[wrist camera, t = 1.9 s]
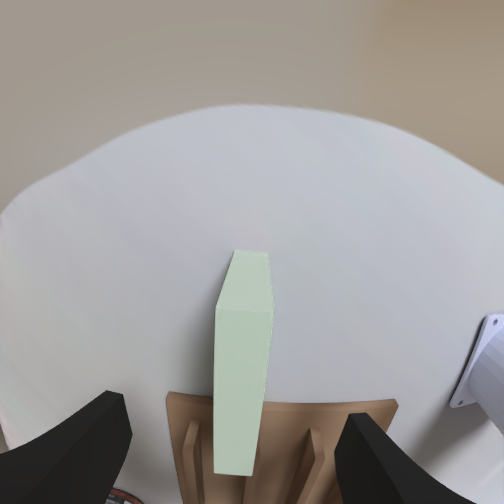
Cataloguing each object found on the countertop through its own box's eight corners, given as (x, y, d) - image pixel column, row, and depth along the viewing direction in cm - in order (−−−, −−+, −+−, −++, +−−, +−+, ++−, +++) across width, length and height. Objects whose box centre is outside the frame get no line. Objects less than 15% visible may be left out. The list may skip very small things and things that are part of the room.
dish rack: (394, 398, 17) (413, 433, 14) (339, 502, 21) (344, 529, 17) (169, 391, 17) (153, 429, 14) (184, 497, 21) (178, 526, 17)
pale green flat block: (267, 252, 15) (274, 312, 8) (254, 382, 17) (251, 476, 10) (235, 249, 15) (215, 307, 8) (227, 380, 17) (214, 473, 10)
